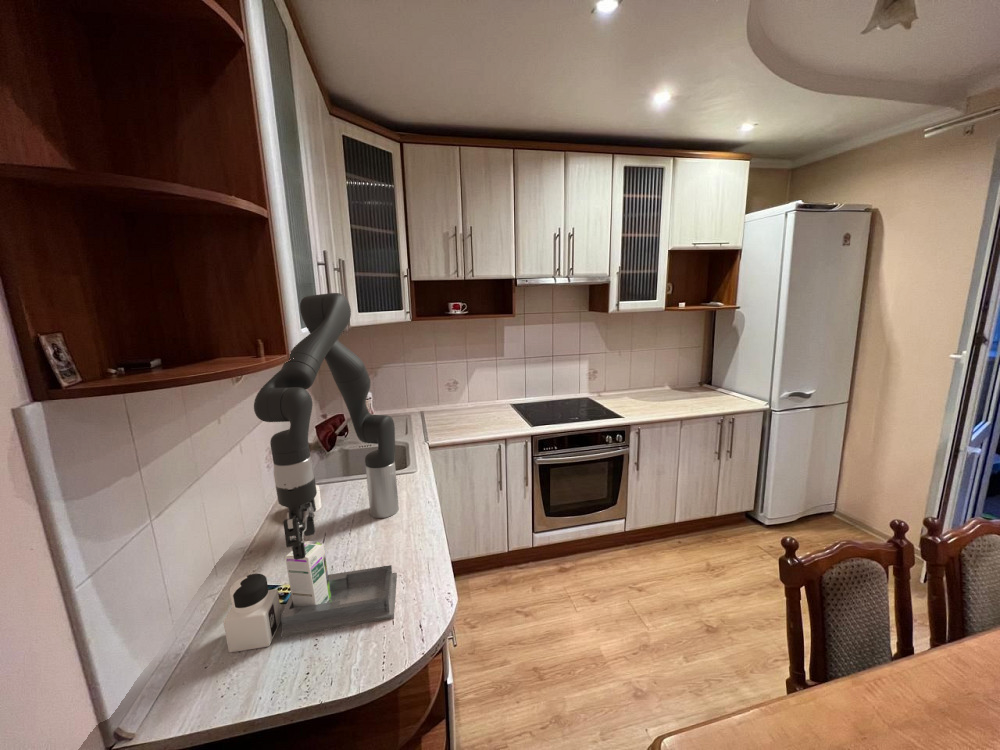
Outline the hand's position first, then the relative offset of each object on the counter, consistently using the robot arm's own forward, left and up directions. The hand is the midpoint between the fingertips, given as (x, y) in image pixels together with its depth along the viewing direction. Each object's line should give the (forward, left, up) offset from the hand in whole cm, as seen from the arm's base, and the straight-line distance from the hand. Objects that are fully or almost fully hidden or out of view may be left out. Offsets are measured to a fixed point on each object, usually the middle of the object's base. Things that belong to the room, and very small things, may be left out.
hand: (305, 545), depth 89 cm
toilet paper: (-48, -13, -17) cm, 52 cm away
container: (+5, -10, -16) cm, 20 cm away
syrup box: (0, 0, -15) cm, 15 cm away
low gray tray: (0, +7, -16) cm, 18 cm away
